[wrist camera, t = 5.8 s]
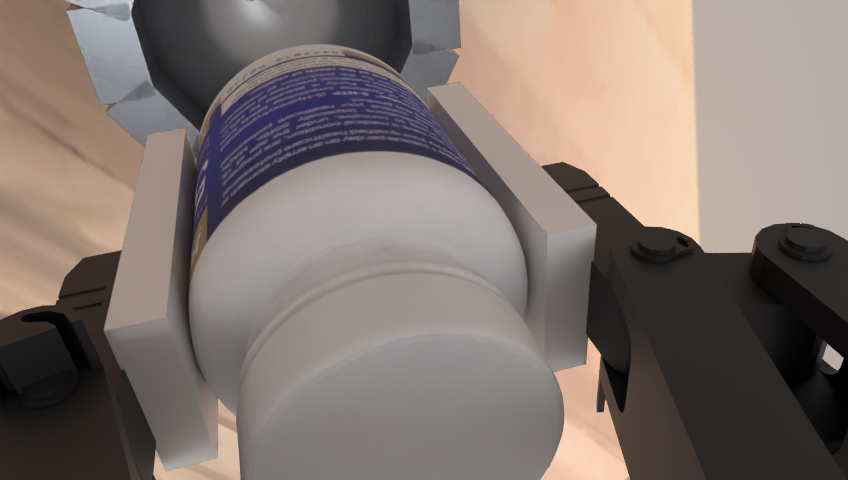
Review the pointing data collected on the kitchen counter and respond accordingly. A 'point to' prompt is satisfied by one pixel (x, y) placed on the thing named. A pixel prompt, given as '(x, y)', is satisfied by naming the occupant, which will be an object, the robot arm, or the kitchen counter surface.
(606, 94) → the kitchen counter surface
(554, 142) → the kitchen counter surface
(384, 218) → the pill bottle
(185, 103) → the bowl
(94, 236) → the kitchen counter surface
